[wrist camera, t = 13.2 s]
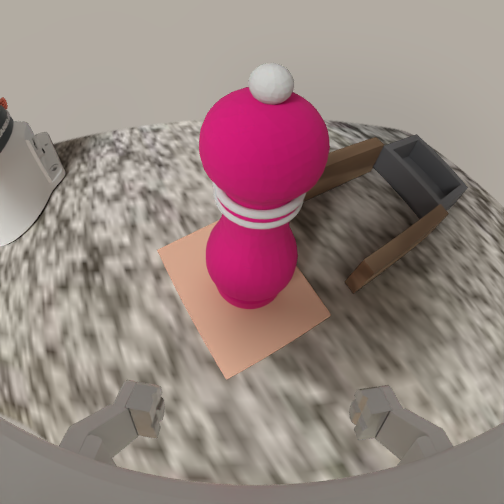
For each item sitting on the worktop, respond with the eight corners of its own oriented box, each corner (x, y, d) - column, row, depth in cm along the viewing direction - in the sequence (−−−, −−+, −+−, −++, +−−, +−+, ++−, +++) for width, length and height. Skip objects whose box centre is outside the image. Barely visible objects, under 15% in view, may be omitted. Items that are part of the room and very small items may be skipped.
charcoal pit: (372, 166, 36) (383, 146, 32) (406, 152, 38) (416, 134, 35) (426, 226, 31) (442, 208, 28) (454, 203, 34) (467, 187, 30)
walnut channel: (281, 199, 32) (287, 168, 27) (363, 163, 36) (375, 137, 31) (353, 293, 27) (374, 273, 22) (427, 235, 31) (448, 213, 26)
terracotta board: (158, 252, 28) (157, 250, 27) (252, 207, 31) (252, 205, 30) (226, 379, 23) (226, 379, 22) (329, 316, 26) (331, 315, 25)
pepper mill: (233, 329, 24) (230, 143, 7) (196, 263, 27) (153, 55, 9) (302, 291, 26) (403, 102, 9) (262, 232, 29) (293, 32, 11)
